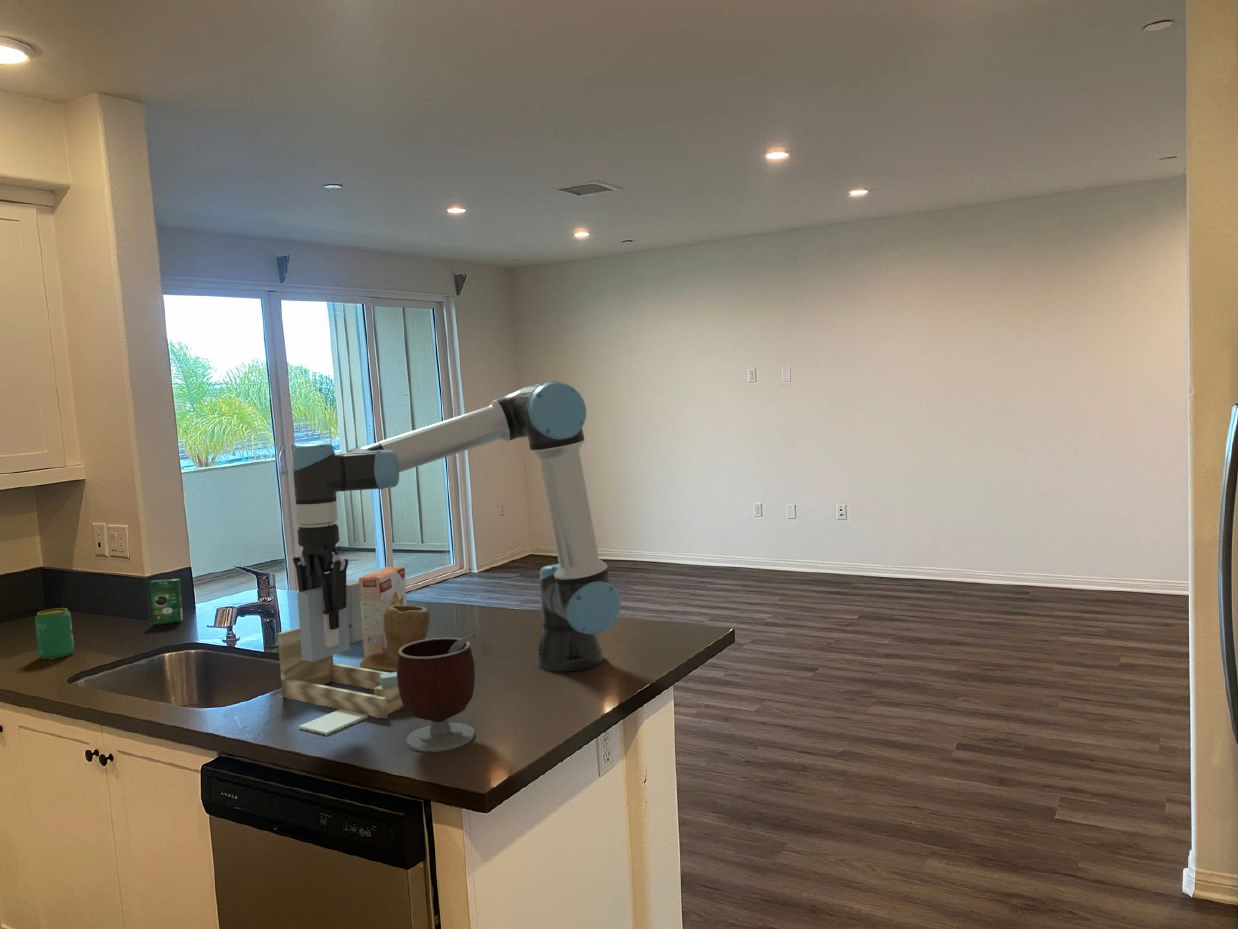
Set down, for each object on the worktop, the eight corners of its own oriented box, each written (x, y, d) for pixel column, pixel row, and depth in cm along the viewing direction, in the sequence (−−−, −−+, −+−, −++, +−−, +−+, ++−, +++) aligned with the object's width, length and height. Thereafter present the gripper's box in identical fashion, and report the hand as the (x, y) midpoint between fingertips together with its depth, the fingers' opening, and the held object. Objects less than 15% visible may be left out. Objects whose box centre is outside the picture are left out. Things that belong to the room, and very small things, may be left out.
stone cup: (443, 664, 212) (439, 601, 211) (412, 679, 201) (408, 613, 200) (391, 659, 218) (386, 598, 217) (358, 674, 207) (353, 610, 206)
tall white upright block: (349, 649, 178) (345, 584, 177) (312, 661, 170) (307, 594, 169) (339, 647, 179) (335, 583, 178) (302, 660, 172) (297, 592, 171)
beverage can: (78, 654, 238) (74, 610, 237) (44, 662, 232) (39, 616, 232) (69, 649, 244) (64, 606, 243) (35, 657, 238) (30, 612, 237)
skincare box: (327, 643, 237) (322, 583, 235) (345, 635, 243) (340, 578, 242) (353, 644, 234) (348, 584, 232) (370, 637, 240) (366, 578, 239)
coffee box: (184, 620, 272) (180, 577, 271) (182, 622, 269) (178, 579, 268) (155, 623, 270) (151, 580, 269) (152, 625, 267) (148, 582, 266)
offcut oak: (418, 702, 187) (417, 690, 187) (388, 717, 179) (387, 704, 179) (400, 699, 190) (399, 687, 190) (369, 713, 182) (368, 701, 182)
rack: (430, 698, 188) (426, 632, 187) (383, 719, 177) (378, 649, 176) (331, 679, 204) (326, 619, 203) (282, 697, 193) (277, 633, 192)
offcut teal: (407, 684, 184) (406, 674, 184) (382, 688, 182) (381, 678, 182) (405, 680, 186) (404, 670, 186) (380, 683, 185) (380, 674, 185)
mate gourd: (386, 749, 161) (378, 640, 159) (429, 722, 174) (422, 620, 172) (461, 758, 155) (454, 644, 154) (500, 728, 168) (493, 623, 167)
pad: (367, 718, 178) (367, 715, 178) (326, 735, 169) (326, 732, 169) (340, 712, 182) (340, 709, 182) (299, 729, 174) (298, 726, 174)
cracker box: (386, 664, 215) (380, 577, 213) (363, 663, 216) (356, 577, 214) (411, 647, 228) (405, 565, 227) (389, 647, 230) (383, 566, 228)
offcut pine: (413, 691, 187) (412, 680, 186) (389, 702, 180) (388, 690, 180) (398, 689, 188) (397, 678, 188) (374, 700, 182) (373, 688, 182)
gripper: (361, 523, 172) (369, 644, 173) (306, 520, 180) (314, 635, 182) (330, 528, 165) (338, 654, 167) (274, 525, 174) (282, 644, 176)
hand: (325, 644), depth 174 cm, fingers closed on tall white upright block, 3 cm apart
